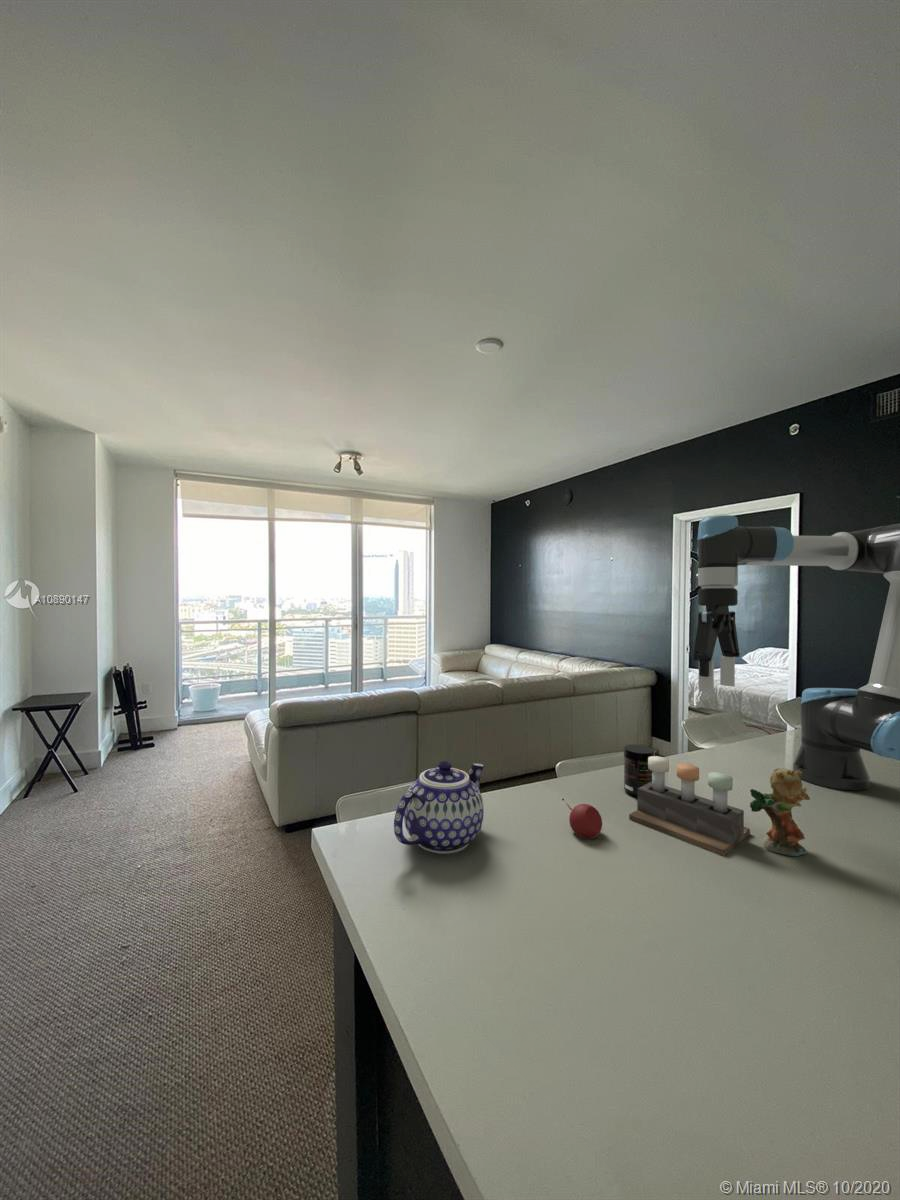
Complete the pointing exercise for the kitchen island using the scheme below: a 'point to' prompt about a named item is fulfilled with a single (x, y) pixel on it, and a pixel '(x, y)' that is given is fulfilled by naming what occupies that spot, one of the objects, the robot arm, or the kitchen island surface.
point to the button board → (690, 819)
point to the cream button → (658, 772)
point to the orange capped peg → (687, 781)
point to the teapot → (442, 809)
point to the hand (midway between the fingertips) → (717, 688)
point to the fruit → (585, 821)
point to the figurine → (782, 811)
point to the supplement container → (636, 767)
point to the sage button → (720, 790)
